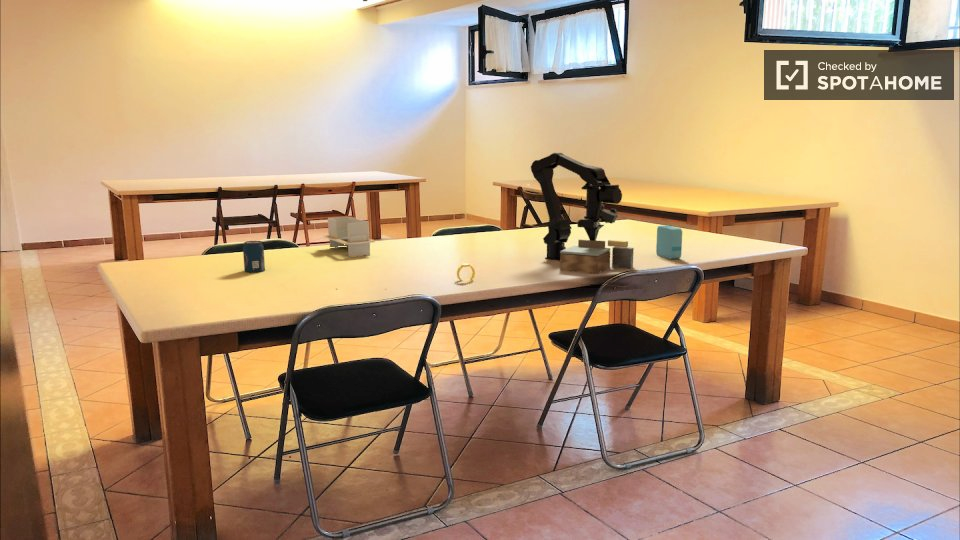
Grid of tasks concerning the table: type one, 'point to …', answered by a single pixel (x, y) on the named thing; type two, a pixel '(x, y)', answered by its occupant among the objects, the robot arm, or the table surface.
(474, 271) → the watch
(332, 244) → the architectural model
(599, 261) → the storage box
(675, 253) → the data package
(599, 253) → the box lid
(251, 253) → the soda can
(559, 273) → the table surface
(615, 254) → the block
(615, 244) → the bolt
